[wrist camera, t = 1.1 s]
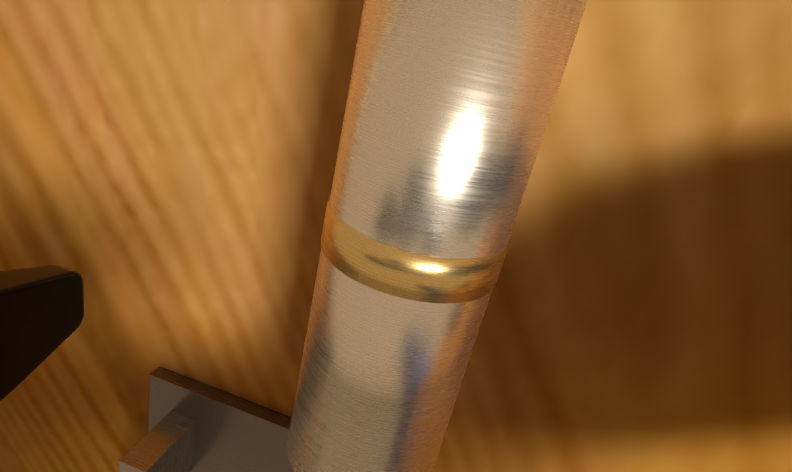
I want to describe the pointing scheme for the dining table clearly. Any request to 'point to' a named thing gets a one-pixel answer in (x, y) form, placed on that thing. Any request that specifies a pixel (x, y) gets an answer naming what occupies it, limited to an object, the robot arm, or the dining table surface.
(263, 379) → the dining table surface
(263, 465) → the collar cradle
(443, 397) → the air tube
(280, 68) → the dining table surface
